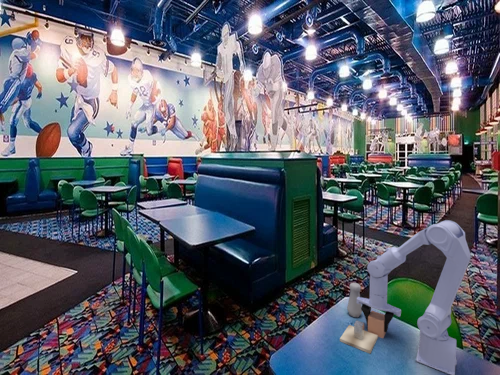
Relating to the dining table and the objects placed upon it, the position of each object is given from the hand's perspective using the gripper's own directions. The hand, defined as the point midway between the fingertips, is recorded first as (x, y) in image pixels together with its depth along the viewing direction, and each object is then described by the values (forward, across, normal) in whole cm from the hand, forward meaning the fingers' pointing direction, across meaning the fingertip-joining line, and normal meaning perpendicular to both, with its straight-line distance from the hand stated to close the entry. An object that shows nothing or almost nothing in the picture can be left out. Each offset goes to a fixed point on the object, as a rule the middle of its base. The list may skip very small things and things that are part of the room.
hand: (377, 327), depth 95 cm
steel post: (+2, +4, +8) cm, 10 cm away
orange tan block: (+2, 0, 0) cm, 2 cm away
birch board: (+2, +4, +8) cm, 10 cm away
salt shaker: (+2, +10, -6) cm, 12 cm away
